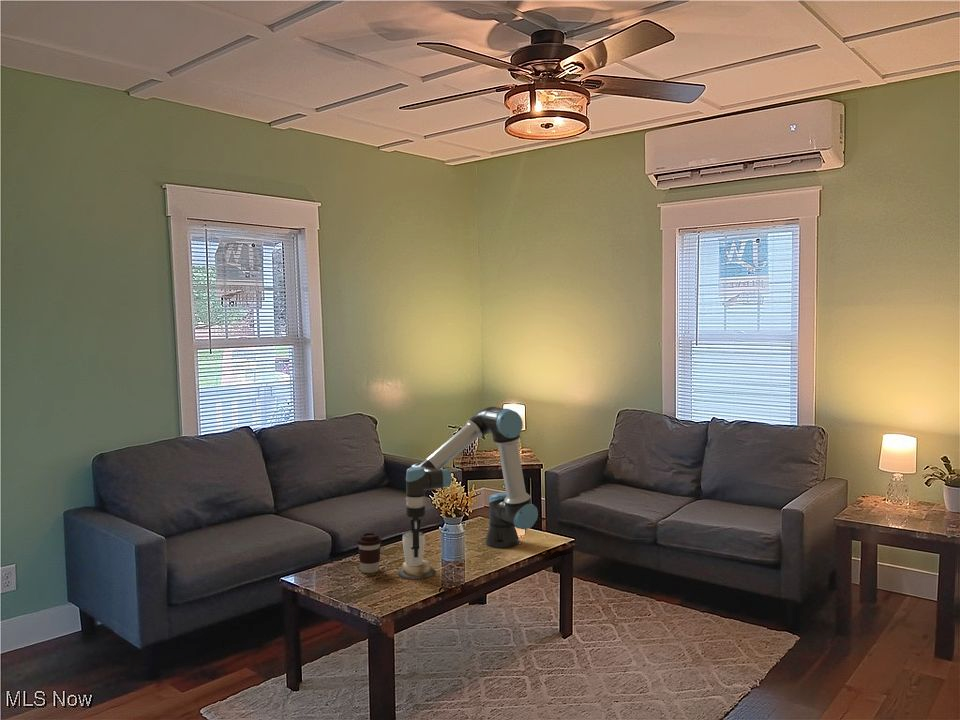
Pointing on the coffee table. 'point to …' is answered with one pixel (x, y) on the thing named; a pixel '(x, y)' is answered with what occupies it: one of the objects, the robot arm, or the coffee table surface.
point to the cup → (409, 552)
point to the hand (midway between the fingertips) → (415, 560)
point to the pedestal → (416, 571)
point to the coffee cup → (369, 552)
